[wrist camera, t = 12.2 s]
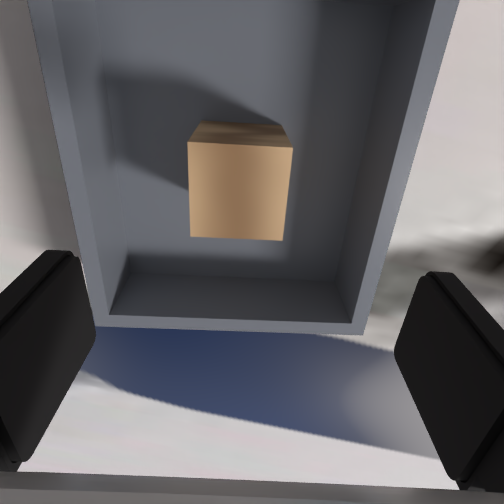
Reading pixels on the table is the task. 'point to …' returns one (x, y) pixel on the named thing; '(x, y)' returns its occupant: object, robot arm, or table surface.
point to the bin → (240, 111)
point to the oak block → (238, 180)
